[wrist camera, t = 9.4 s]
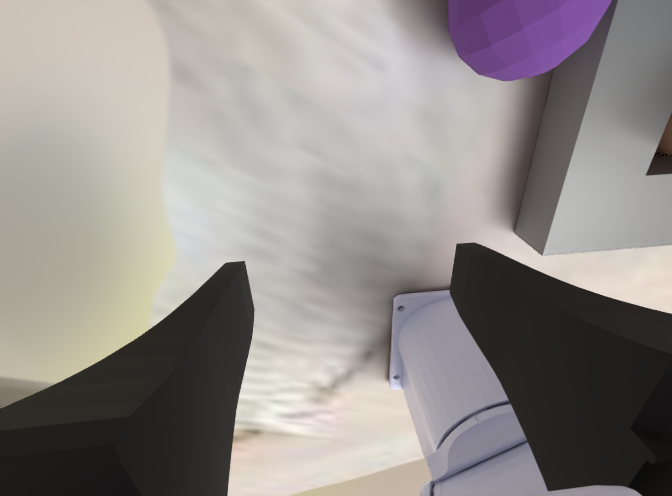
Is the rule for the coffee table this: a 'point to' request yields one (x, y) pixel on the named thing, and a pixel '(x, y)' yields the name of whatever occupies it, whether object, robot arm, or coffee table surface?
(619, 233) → the socket
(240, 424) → the coffee table surface
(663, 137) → the peg
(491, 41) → the kendama
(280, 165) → the coffee table surface
